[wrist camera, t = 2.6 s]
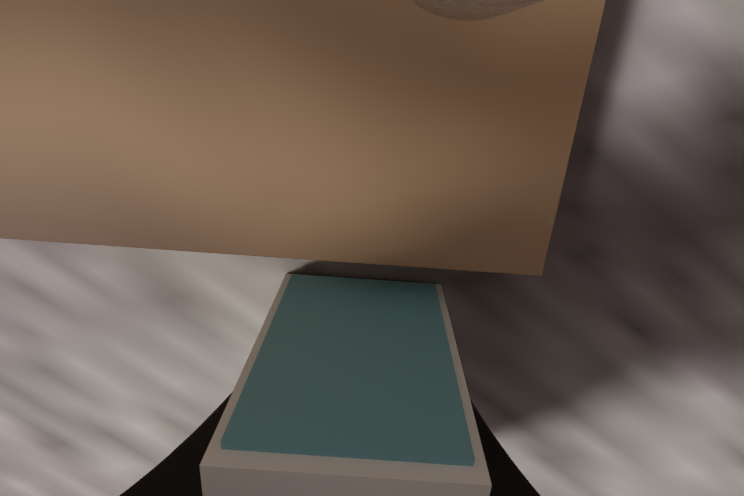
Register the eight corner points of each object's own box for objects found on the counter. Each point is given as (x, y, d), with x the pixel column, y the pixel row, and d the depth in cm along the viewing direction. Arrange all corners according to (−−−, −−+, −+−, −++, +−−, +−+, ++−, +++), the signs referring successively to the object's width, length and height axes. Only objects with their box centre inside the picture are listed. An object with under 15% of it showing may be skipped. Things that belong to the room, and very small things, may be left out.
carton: (417, 457, 14) (438, 716, 9) (287, 448, 14) (225, 701, 9) (442, 279, 12) (493, 477, 6) (286, 268, 12) (198, 456, 6)
